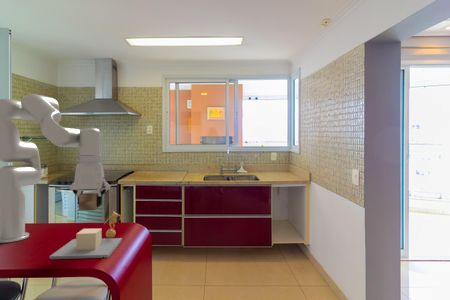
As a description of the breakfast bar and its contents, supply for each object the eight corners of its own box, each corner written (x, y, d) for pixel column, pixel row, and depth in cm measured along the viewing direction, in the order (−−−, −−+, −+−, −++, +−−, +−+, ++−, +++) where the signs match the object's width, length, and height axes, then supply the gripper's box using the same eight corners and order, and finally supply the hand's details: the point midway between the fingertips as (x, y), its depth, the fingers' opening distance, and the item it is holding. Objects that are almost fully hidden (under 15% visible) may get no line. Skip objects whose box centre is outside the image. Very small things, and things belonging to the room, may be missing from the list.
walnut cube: (78, 210, 111) (78, 194, 111) (84, 207, 117) (84, 192, 117) (95, 210, 111) (95, 194, 111) (100, 207, 117) (100, 192, 117)
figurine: (115, 235, 132) (116, 208, 132) (124, 237, 129) (124, 210, 129) (99, 239, 125) (99, 211, 125) (108, 242, 122) (108, 213, 122)
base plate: (49, 259, 103) (49, 239, 103) (73, 241, 123) (73, 224, 123) (108, 257, 105) (108, 238, 105) (122, 240, 125) (122, 224, 125)
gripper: (62, 160, 109) (62, 208, 109) (110, 160, 111) (109, 207, 111) (71, 159, 117) (70, 204, 117) (115, 159, 119) (115, 204, 118)
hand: (89, 205), depth 114 cm, fingers closed on walnut cube, 6 cm apart
